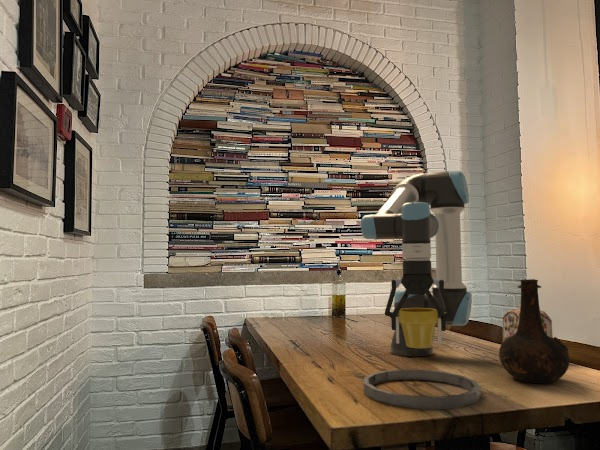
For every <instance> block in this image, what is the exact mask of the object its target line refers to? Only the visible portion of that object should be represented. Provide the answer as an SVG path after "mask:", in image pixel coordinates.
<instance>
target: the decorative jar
mask: <svg viewBox="0 0 600 450" xmlns="http://www.w3.org/2000/svg"><path fill="white" fill-rule="evenodd" d="M520 306H521V303H520V304H518V308H512V309H509V310H507V311H506V313H504V315H503V316H502V343H503V342H504V341H505V340H506V339H507V338H509V337H511V336H513V335H514V334H515V333H516V332H517V329H518V325H519V318H520ZM540 314H541V320H542V325H543V328H544V331H545V333H546V334H547V336H549V337H551V338H554V336H553V321H552V318H551V317H550V316H549V314H548V313H546V311H544V310H541V309H540Z"/></svg>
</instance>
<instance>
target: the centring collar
mask: <svg viewBox="0 0 600 450" xmlns="http://www.w3.org/2000/svg"><path fill="white" fill-rule="evenodd" d="M401 380H402V381H403V380H406V381H407V380H412V381H415V380H416V381H417V380H418V381H431V382H439V383H444V382H445V383H444V384H450V385H453V384H454V386H457V385H459V386H458V387H460V386H461V387H460V388H463V389H465V388H466V389H465V390H467V389H468V391H466V392H464V393H463V392H462V393H460V394H452V395H441V396H440V395H439V396H434V395H433V396H432V395H431V396H428V395H413V394H405V393H404V394H403V393H398V392H392V391H387V390H384V389H381V388H377V387H376V386H374V385H376V384H380V383H381V384H382V383H384V382H389V381H401ZM470 390H471V391H470ZM481 393H482V392H481V385H480V384H479V383H477V381H476V380H474V379H471V378H468V377H466V376H464V375H459V374H455V373H450V372H446V371H438V370H437V371H436V370H428V369H407V368H406V369H391V370H382V371H377V372H374V373H370V374H368V375H367V376H365V377H364V378H363V394H364V395H366V396H367V397H369V398H370V399H372V400H374V401H377V402H380V403H383V404H386V405H389V406H396V407H400V408H401V407H402V408H409V409H416V410H417V409H418V410H419V409H420V410H447V409H457V407H460V408H465V407H468V406H471V405H474V404H476V402H477V403H478V401H479V400H480V398H481V397H482V396H481ZM473 403H474V404H473ZM470 404H471V405H470ZM467 405H468V406H467ZM464 406H465V407H464Z"/></svg>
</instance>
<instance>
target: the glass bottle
mask: <svg viewBox="0 0 600 450" xmlns="http://www.w3.org/2000/svg"><path fill="white" fill-rule="evenodd" d="M538 282H539V280H538V279H535V278H532V279H531V278H530V279H529V278H527V279H526V278H525V279H521V280H520V285H517V288H518V289H520V304H521V306H520V318H519V325H518V329H517V332H516V333H515V334H514V335H513V336H511V337H509V338H507V339H506V340H505V341H504V342H503V341H502V343H501V344H500V347H499V350H498V358H499V361H500V363H501V366H502V367H503V369H504V370H505V371H506V372H507V374H509V375H510V376H511V377H513V378H514V379H516V380H519V381H522V382H526V383H530V384H532V383H533V384H548V383H553V382H557V381H558V380H560V379H561V378H563V377H564V375H565V374H566V373H567V371H568V370H569V366H570V355H569V348H568V346H567V345H566V344H564V343H563V342H562V340H560V339H559V338H558V337H556V336H553V338H551V337H549V336H547V334H546V333H545V331H544V328H543V325H542V320H541V314H540V310H541V309H540V300H539V291H538V290H539V289H540V288H542V286H541V285H539V284H538Z"/></svg>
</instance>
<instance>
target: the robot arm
mask: <svg viewBox="0 0 600 450" xmlns="http://www.w3.org/2000/svg"><path fill="white" fill-rule="evenodd" d="M467 183H468V182H467V179H466V176H465V174H464V172H462V171H461V170H448V171H438V172H437V171H434V172H424V173H423V172H421V173H416V174H414V175H410V176H409V177H406V178H405V179H403V180H401V182H399V183H398V184H397V185H395V186H394V188H393V189H392V193H391V196H390V197H389V198H388V200H387V201H385V203H384V204H383V205H382V206H381V207H380V209H378V211H377V212H376V213H375V214H367V215H366V214H365V215H363V216H362V218H361V221H360V222H361V223H360V228H361V229H360V230H361V234H362V236H363V238H364V239H365V240H374V241H377V240H401V248H402V249H401V250H402V253H401V255H402V259H404V260H403V261H402V277H401V279H394V278H393V279H391V281H390V282H391V290H390V294H389V297H388V299H387V303H386V307H385V310H384V315H385V317H389V318H390V320H391V330H392V331H394V332H393V335H392V338H391V343H390V345H389V352H390V354H393V355H396V356H403V357H428V356H432V355H433V354H434V347H433V345H432V347H430V348H421V349H420V348H410V347H407V345H406V341H405V337H404V333H403V329H402V325H401V323H400V322H399V318H398V313H399V310H400V309H404V308H431V309H436V310H437V312H438V322H437V323H436V325H437V326H436V325H435V326H436V327H437V344H438V345H442V344H443V341H442V335H443V334H442V332H446V326H451V327H456V326H457V327H458V326H459V327H461V326H462V327H463V326H466V325H467V324H468V323H469V320H470V316H471V310H472V301H473V300H472V299H473V298H472V297H473V296H472V293H471V292H470V291H468V287H467V285H466V284H465V283H464V282H463V278H462V277H463V276H462V275H463V274H462V272H463V270H462V238H461V236H462V234H461V232H462V231H461V230H462V229H461V213H462V212H463V211H464V210H465V204H466V205H467V204H468V203H469V202H470V194H469V188H468V184H467ZM431 212H432V213H431ZM431 238H435V269H436V270H435V272H436V279H433V277H432V275H433V274H432V261H431V260H430V259H431V258H432V252H431V251H432V247H431V245H432V244H431ZM401 284H402V286H403V287H404V289H399V290H397V289H398V288H399V287H400V285H401ZM431 287H432V289H431ZM430 289H431V290H430ZM392 305H394V306H393V307H394V309H393V311H391V310H392V309H391V308H392Z"/></svg>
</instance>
